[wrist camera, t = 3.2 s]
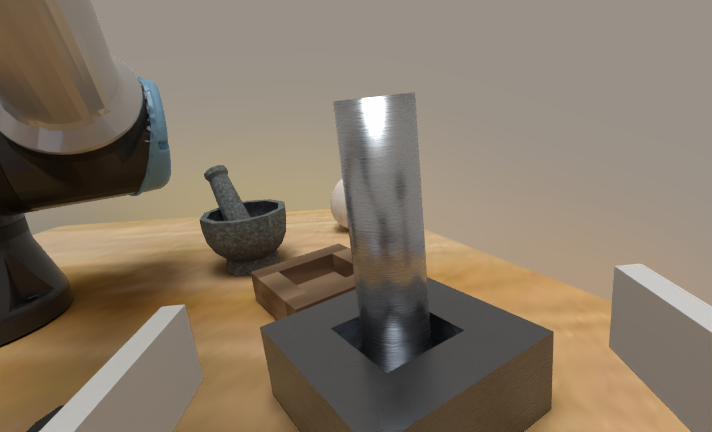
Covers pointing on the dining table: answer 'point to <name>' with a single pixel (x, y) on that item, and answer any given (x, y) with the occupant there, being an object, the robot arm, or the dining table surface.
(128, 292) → the dining table surface
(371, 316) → the brushed metal peg
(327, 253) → the wooden square tray
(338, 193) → the egg
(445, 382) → the socket
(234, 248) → the mortar and pestle
